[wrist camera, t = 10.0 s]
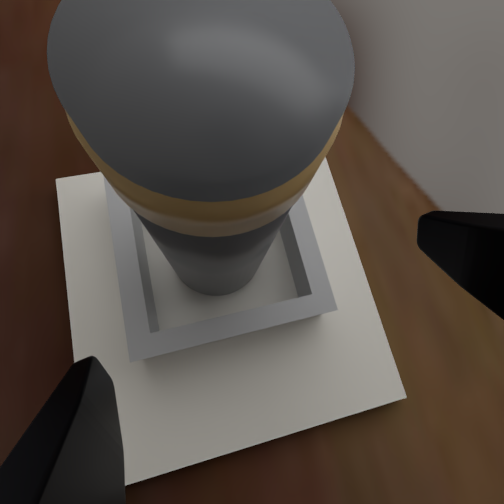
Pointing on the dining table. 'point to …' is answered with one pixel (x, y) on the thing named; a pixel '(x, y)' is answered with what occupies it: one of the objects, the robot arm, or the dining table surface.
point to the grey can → (204, 116)
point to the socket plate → (222, 331)
